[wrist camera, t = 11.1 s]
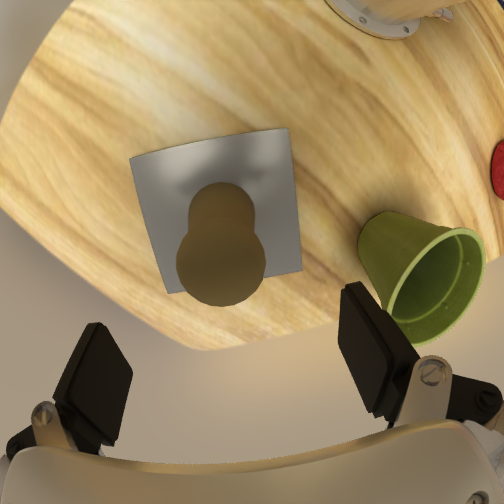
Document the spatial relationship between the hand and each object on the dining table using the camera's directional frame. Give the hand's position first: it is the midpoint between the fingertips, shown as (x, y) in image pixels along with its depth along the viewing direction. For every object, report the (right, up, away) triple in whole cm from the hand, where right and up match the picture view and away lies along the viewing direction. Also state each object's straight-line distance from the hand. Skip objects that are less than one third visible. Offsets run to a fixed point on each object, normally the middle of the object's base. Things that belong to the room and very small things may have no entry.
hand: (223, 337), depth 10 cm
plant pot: (+16, +4, +18) cm, 25 cm away
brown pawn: (-2, +7, +14) cm, 16 cm away
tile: (-2, +7, +15) cm, 17 cm away
